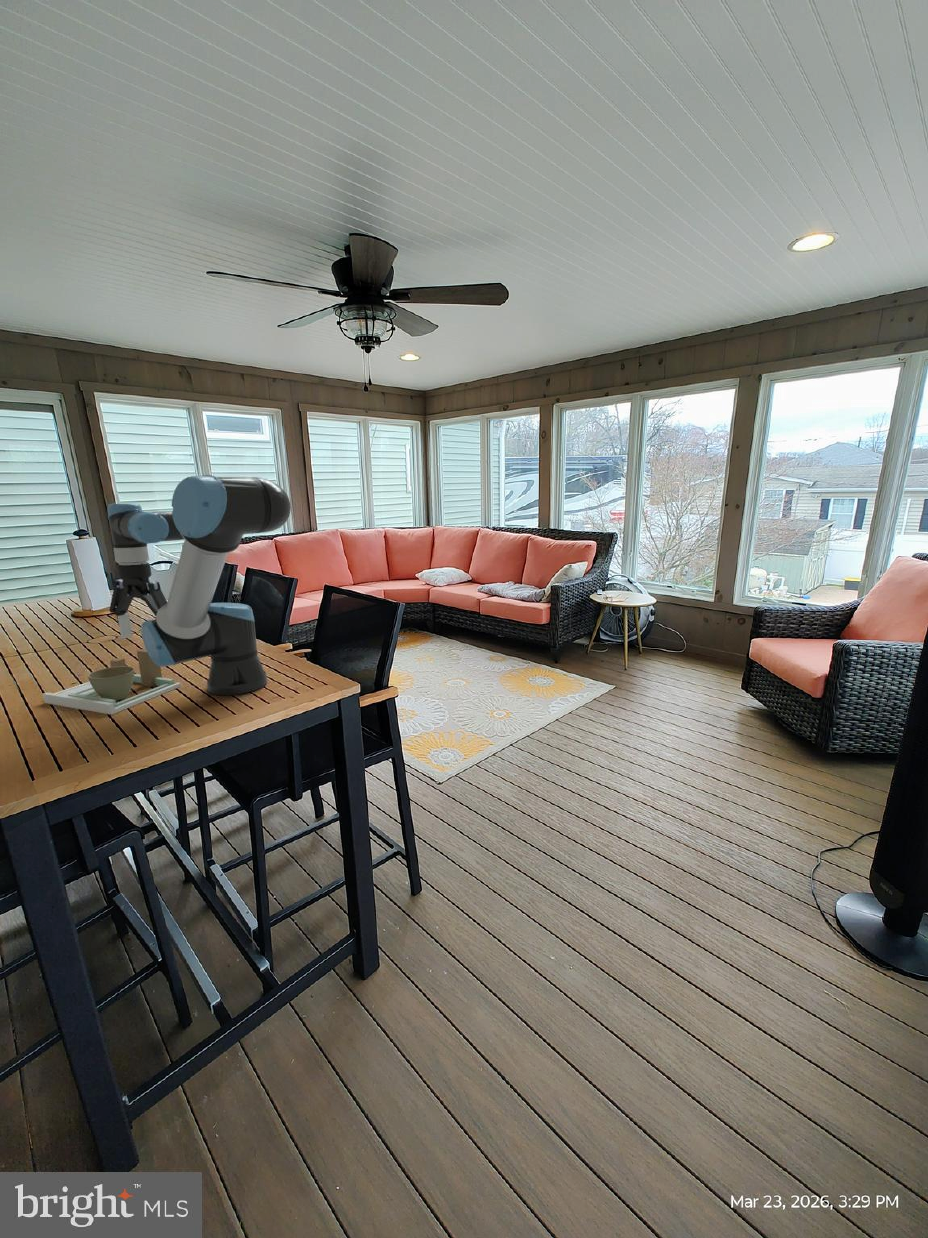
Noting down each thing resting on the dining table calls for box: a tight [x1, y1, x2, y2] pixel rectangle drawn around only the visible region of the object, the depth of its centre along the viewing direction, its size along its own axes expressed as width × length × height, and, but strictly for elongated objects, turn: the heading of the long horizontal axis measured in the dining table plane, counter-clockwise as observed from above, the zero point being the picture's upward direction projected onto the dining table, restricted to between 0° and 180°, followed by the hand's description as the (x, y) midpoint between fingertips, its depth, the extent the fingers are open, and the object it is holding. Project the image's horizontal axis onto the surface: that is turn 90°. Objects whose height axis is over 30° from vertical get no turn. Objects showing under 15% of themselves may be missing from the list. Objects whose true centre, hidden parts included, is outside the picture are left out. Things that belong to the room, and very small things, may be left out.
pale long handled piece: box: [59, 657, 127, 696], centre depth 138 cm, size 4×19×6 cm, turn 161°
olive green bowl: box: [87, 665, 136, 702], centre depth 131 cm, size 10×10×7 cm
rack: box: [42, 681, 182, 715], centre depth 134 cm, size 26×20×2 cm
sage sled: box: [68, 647, 175, 707], centre depth 134 cm, size 15×19×10 cm
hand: (145, 640), depth 139 cm, fingers open, 13 cm apart
